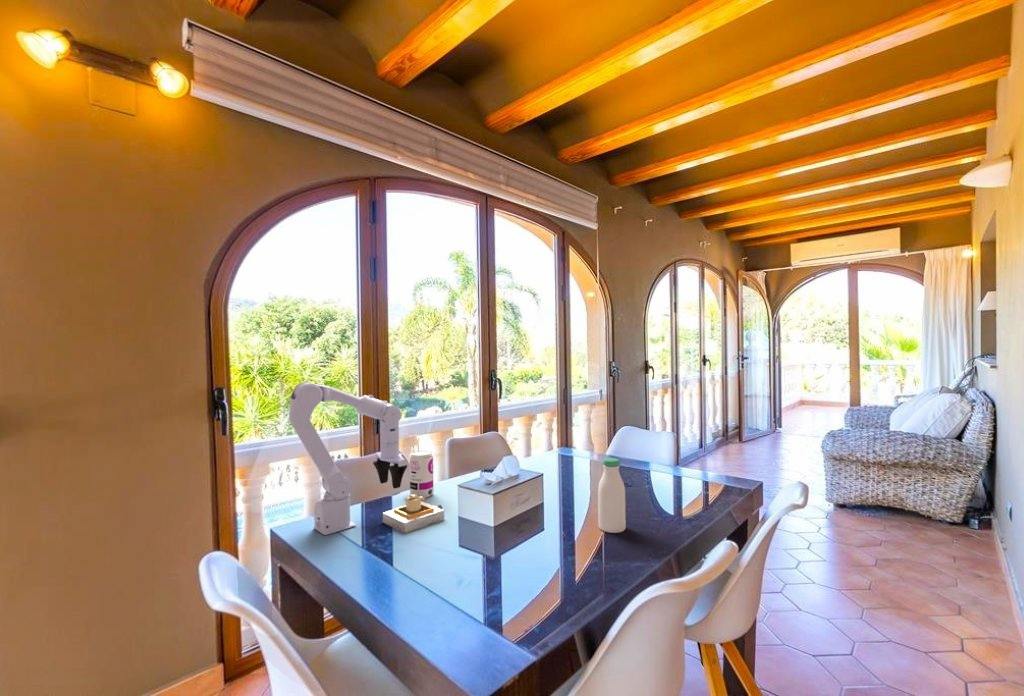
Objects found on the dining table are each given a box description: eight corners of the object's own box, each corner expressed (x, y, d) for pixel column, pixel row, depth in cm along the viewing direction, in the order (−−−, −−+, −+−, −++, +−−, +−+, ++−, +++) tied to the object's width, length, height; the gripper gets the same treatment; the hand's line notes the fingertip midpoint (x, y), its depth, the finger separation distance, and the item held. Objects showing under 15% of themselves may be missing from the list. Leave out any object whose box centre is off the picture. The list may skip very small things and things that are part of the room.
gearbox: (404, 533, 132) (404, 520, 132) (382, 522, 141) (382, 510, 141) (452, 517, 144) (452, 505, 144) (429, 508, 153) (429, 496, 153)
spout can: (411, 525, 138) (411, 498, 138) (403, 521, 141) (402, 495, 141) (428, 519, 143) (428, 493, 143) (419, 516, 146) (419, 490, 146)
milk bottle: (626, 534, 130) (625, 463, 130) (598, 532, 131) (597, 462, 131) (625, 524, 137) (624, 456, 137) (598, 522, 139) (597, 455, 139)
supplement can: (436, 491, 170) (435, 450, 170) (429, 499, 162) (429, 456, 162) (414, 491, 171) (413, 450, 171) (407, 498, 162) (406, 455, 162)
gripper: (413, 443, 145) (413, 486, 145) (388, 437, 155) (389, 478, 155) (393, 447, 140) (393, 492, 140) (369, 440, 150) (369, 482, 150)
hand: (390, 485), depth 147 cm, fingers open, 7 cm apart
